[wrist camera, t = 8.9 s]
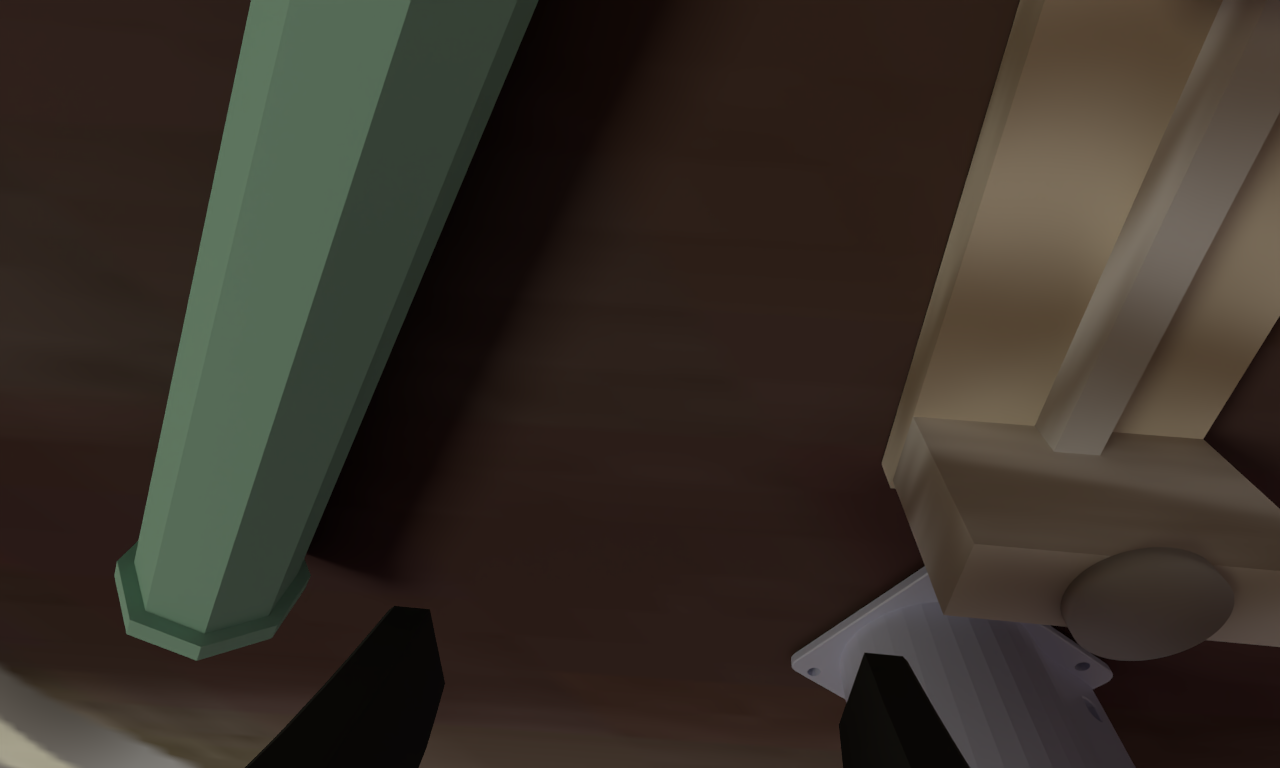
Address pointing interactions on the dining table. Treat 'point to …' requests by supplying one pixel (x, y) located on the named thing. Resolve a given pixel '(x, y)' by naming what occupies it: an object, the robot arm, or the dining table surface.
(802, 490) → the dining table surface
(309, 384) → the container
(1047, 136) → the rail
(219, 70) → the dining table surface
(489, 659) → the dining table surface
